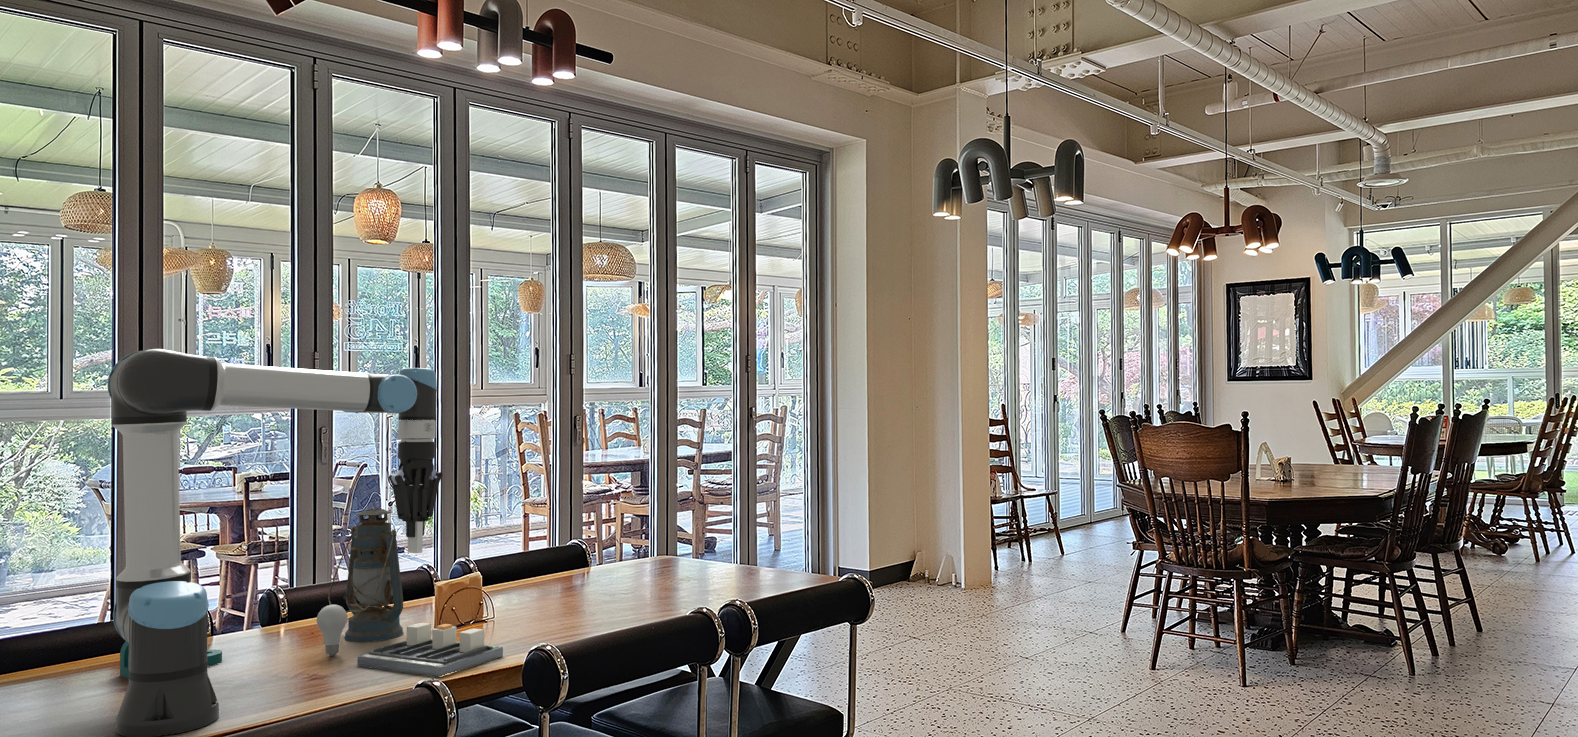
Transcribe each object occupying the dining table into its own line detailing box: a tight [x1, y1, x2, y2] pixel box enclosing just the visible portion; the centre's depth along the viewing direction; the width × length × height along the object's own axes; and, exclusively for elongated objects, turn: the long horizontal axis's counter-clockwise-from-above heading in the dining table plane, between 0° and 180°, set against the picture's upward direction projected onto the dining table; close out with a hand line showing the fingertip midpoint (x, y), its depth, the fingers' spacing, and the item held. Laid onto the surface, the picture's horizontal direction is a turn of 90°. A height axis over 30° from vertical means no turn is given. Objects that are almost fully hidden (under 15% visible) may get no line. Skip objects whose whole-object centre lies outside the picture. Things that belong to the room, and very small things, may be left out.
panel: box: [356, 637, 504, 678], centre depth 219 cm, size 18×23×3 cm
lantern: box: [327, 506, 404, 643], centre depth 243 cm, size 19×14×30 cm
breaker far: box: [406, 622, 432, 645], centre depth 226 cm, size 4×3×4 cm
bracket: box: [119, 640, 223, 680], centre depth 216 cm, size 18×7×8 cm, turn 140°
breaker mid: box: [431, 623, 458, 649], centre depth 223 cm, size 4×3×5 cm
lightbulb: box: [316, 604, 348, 657], centre depth 225 cm, size 6×6×11 cm
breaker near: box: [459, 628, 485, 652], centre depth 220 cm, size 4×3×4 cm
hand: (414, 552), depth 220 cm, fingers closed
